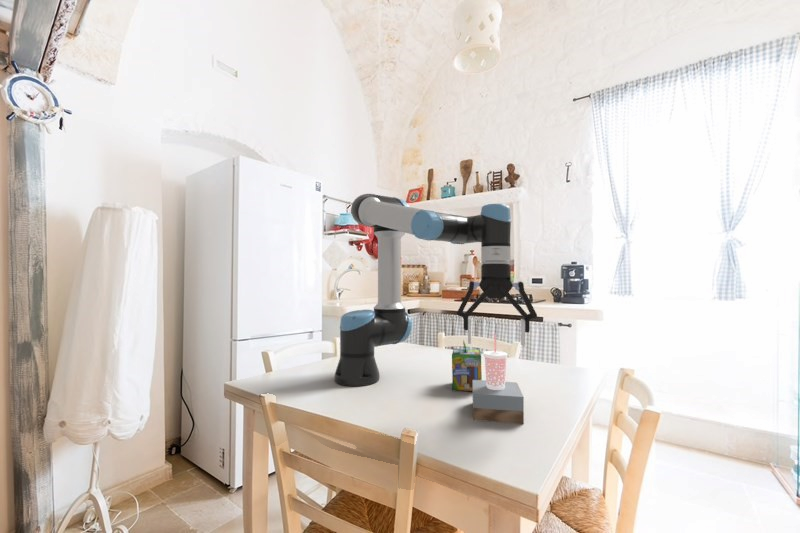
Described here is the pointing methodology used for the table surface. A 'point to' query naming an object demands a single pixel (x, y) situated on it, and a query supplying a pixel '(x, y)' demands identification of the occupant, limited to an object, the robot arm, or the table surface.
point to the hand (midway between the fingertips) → (495, 344)
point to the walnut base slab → (498, 415)
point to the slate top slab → (497, 397)
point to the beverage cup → (495, 368)
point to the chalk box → (465, 368)
